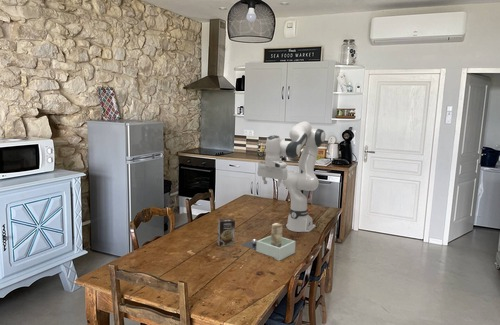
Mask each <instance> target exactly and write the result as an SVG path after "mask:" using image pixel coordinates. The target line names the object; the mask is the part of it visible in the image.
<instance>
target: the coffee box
mask: <svg viewBox="0 0 500 325" xmlns="http://www.w3.org/2000/svg"><path fill="white" fill-rule="evenodd" d="M217 222H218V224H217V245H218V247H232V246H235V230H236V229H235V228H236V220H235V219H234V218H233V217H231V218H230V217H229V218H218V220H217Z"/></svg>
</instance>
